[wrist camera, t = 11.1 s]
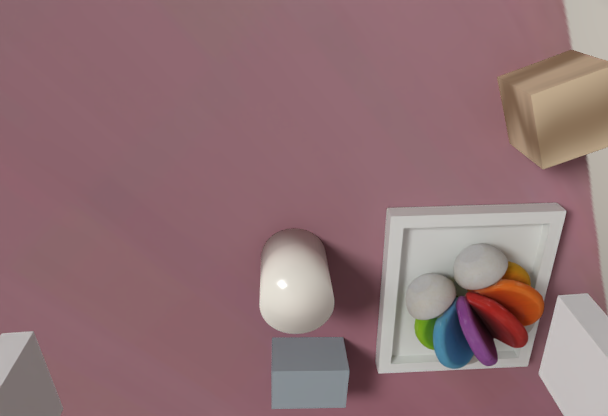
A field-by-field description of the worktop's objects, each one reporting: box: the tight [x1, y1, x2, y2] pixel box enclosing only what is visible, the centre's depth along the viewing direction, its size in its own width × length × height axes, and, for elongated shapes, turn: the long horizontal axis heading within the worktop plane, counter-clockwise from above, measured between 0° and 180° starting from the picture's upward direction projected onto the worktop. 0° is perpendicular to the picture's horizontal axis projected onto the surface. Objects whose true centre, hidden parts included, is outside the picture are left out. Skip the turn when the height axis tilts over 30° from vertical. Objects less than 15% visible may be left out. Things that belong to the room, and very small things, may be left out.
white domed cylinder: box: [260, 228, 334, 334], centre depth 37 cm, size 5×5×6 cm
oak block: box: [497, 50, 608, 169], centre depth 33 cm, size 5×5×5 cm
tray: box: [375, 203, 567, 373], centre depth 41 cm, size 15×13×1 cm
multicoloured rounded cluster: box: [405, 243, 544, 369], centre depth 38 cm, size 8×10×7 cm
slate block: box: [271, 337, 350, 409], centre depth 42 cm, size 4×6×4 cm, turn 87°
